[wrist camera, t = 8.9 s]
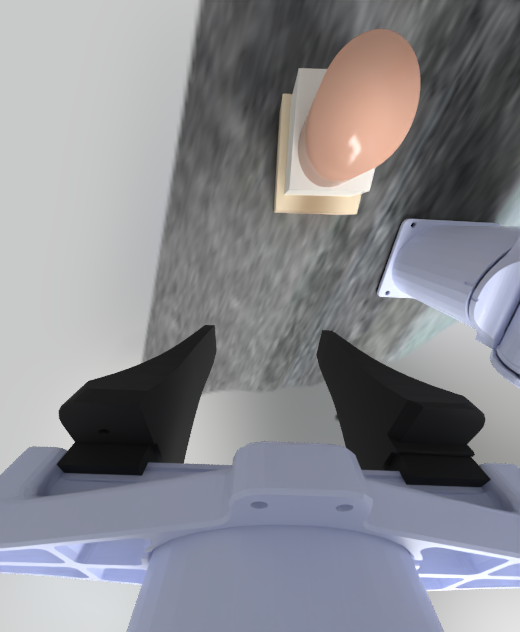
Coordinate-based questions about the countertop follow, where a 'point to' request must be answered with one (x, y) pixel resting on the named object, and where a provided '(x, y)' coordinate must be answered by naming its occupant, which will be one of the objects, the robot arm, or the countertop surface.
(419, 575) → the robot arm
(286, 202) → the base block
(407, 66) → the pink oval piece
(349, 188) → the top block
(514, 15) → the countertop surface
